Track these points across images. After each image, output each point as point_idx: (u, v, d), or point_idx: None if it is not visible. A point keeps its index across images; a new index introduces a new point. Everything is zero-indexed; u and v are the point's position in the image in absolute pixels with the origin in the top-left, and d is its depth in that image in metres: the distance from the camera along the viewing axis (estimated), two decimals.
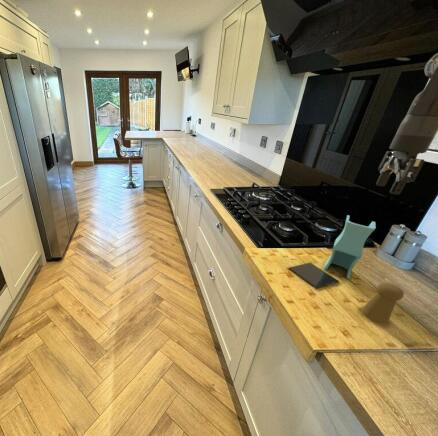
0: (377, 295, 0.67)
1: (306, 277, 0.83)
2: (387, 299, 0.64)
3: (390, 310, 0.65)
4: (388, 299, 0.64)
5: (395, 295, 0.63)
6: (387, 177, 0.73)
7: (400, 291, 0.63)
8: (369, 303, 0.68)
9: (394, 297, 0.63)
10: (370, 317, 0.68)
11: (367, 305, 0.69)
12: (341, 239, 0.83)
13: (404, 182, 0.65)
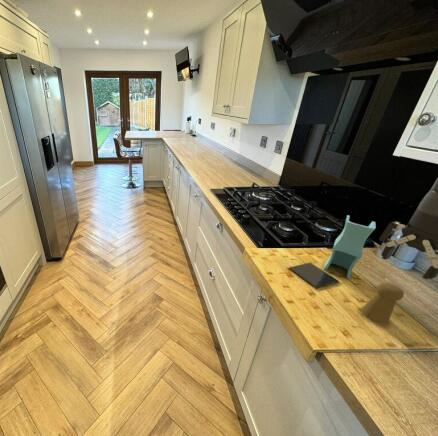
0: (377, 295, 0.67)
1: (306, 277, 0.83)
2: (387, 299, 0.64)
3: (390, 310, 0.65)
4: (388, 299, 0.64)
5: (395, 295, 0.63)
6: (393, 250, 0.64)
7: (400, 291, 0.63)
8: (369, 303, 0.68)
9: (394, 297, 0.63)
10: (370, 317, 0.68)
11: (367, 305, 0.69)
12: (341, 239, 0.83)
13: None
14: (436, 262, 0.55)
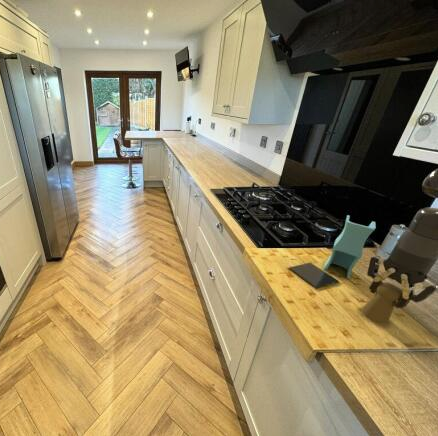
0: (377, 295, 0.67)
1: (306, 277, 0.83)
2: (387, 299, 0.64)
3: (390, 310, 0.65)
4: (388, 299, 0.64)
5: (395, 295, 0.63)
6: None
7: (400, 291, 0.63)
8: (369, 303, 0.68)
9: (394, 297, 0.63)
10: (370, 317, 0.68)
11: (367, 305, 0.69)
12: (341, 239, 0.83)
13: (411, 299, 0.61)
14: (406, 294, 0.61)
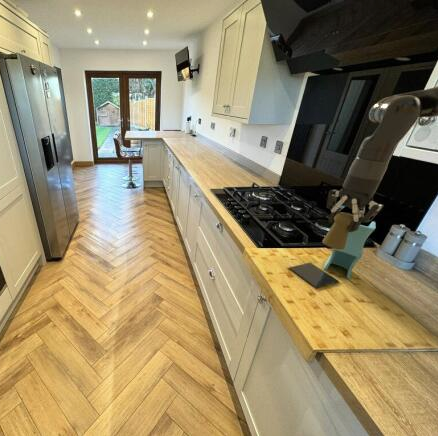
0: (334, 224, 0.74)
1: (306, 277, 0.83)
2: (341, 225, 0.72)
3: (345, 235, 0.73)
4: (342, 225, 0.72)
5: (348, 220, 0.70)
6: None
7: (352, 217, 0.71)
8: (328, 233, 0.76)
9: (347, 222, 0.71)
10: (328, 244, 0.75)
11: (326, 235, 0.77)
12: None
13: None
14: (356, 217, 0.69)
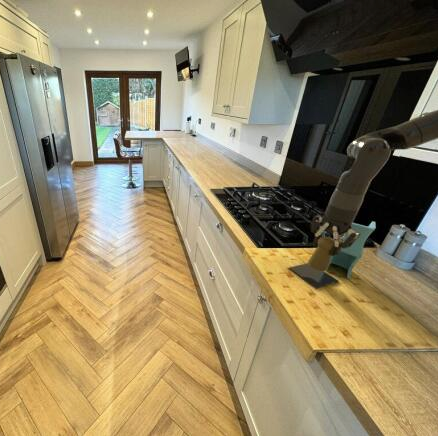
0: (317, 247, 0.80)
1: (306, 277, 0.83)
2: (324, 249, 0.78)
3: (327, 259, 0.79)
4: (325, 249, 0.78)
5: (330, 245, 0.76)
6: None
7: (333, 242, 0.77)
8: (312, 255, 0.82)
9: (328, 247, 0.77)
10: (312, 266, 0.81)
11: (311, 257, 0.83)
12: None
13: None
14: (337, 243, 0.75)
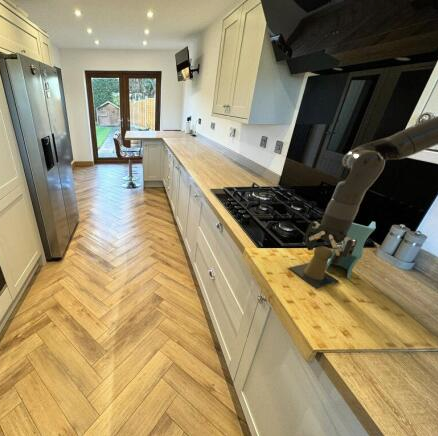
0: (314, 256, 0.82)
1: (306, 277, 0.83)
2: (320, 258, 0.80)
3: (323, 268, 0.80)
4: (320, 259, 0.80)
5: (325, 254, 0.78)
6: (314, 243, 0.83)
7: (329, 251, 0.78)
8: (309, 264, 0.84)
9: (324, 256, 0.78)
10: (309, 275, 0.83)
11: (307, 265, 0.84)
12: None
13: None
14: (337, 251, 0.75)
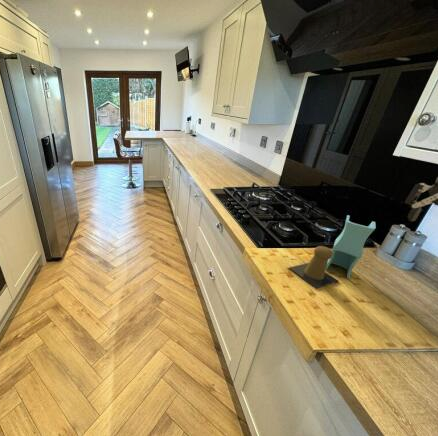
0: (314, 256, 0.82)
1: (306, 277, 0.83)
2: (320, 258, 0.80)
3: (323, 268, 0.80)
4: (321, 259, 0.80)
5: (325, 254, 0.78)
6: (419, 211, 0.66)
7: (329, 251, 0.78)
8: (309, 264, 0.84)
9: (324, 256, 0.78)
10: (309, 275, 0.83)
11: (307, 265, 0.84)
12: (341, 239, 0.83)
13: None
14: None
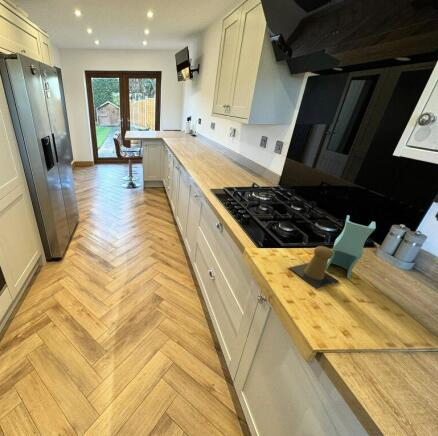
0: (314, 256, 0.82)
1: (306, 277, 0.83)
2: (320, 258, 0.80)
3: (323, 268, 0.80)
4: (321, 259, 0.80)
5: (325, 254, 0.78)
6: None
7: (329, 251, 0.78)
8: (309, 264, 0.84)
9: (324, 256, 0.78)
10: (309, 275, 0.83)
11: (307, 265, 0.84)
12: (341, 239, 0.83)
13: None
14: None
